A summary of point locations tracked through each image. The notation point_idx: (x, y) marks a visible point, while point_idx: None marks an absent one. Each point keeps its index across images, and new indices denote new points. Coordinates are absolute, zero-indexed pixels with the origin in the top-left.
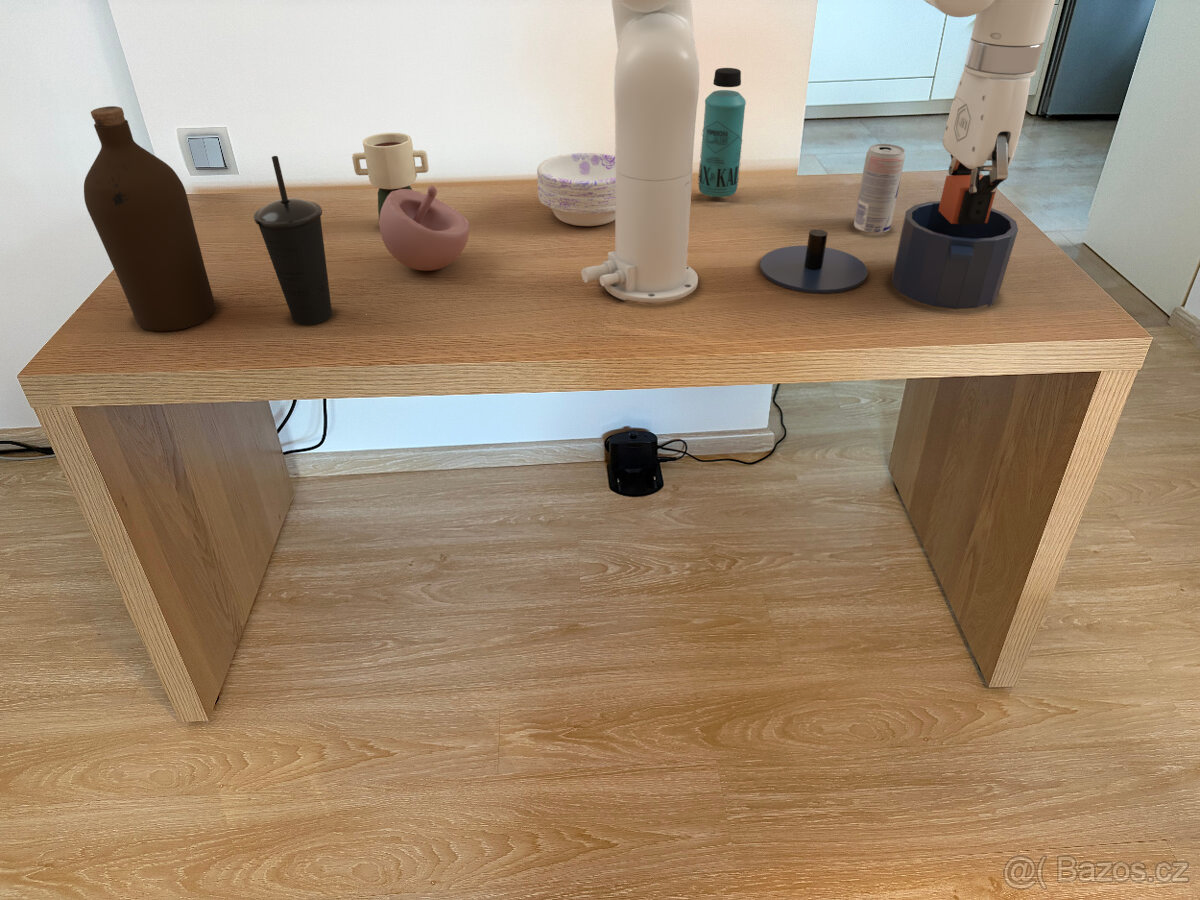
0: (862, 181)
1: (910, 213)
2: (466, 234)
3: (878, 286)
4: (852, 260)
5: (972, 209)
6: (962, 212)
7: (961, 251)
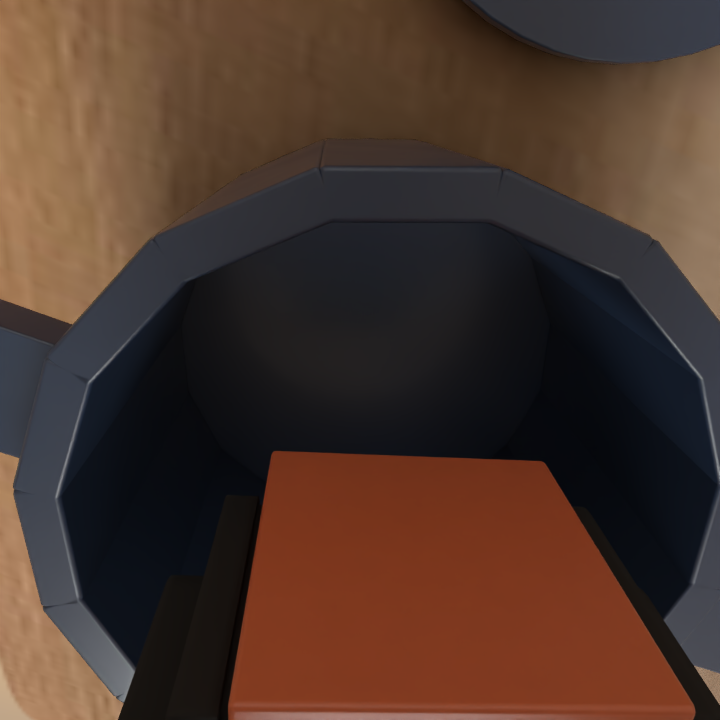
0: None
1: (596, 254)
2: None
3: (438, 83)
4: (679, 11)
5: (151, 635)
6: (211, 556)
7: None
